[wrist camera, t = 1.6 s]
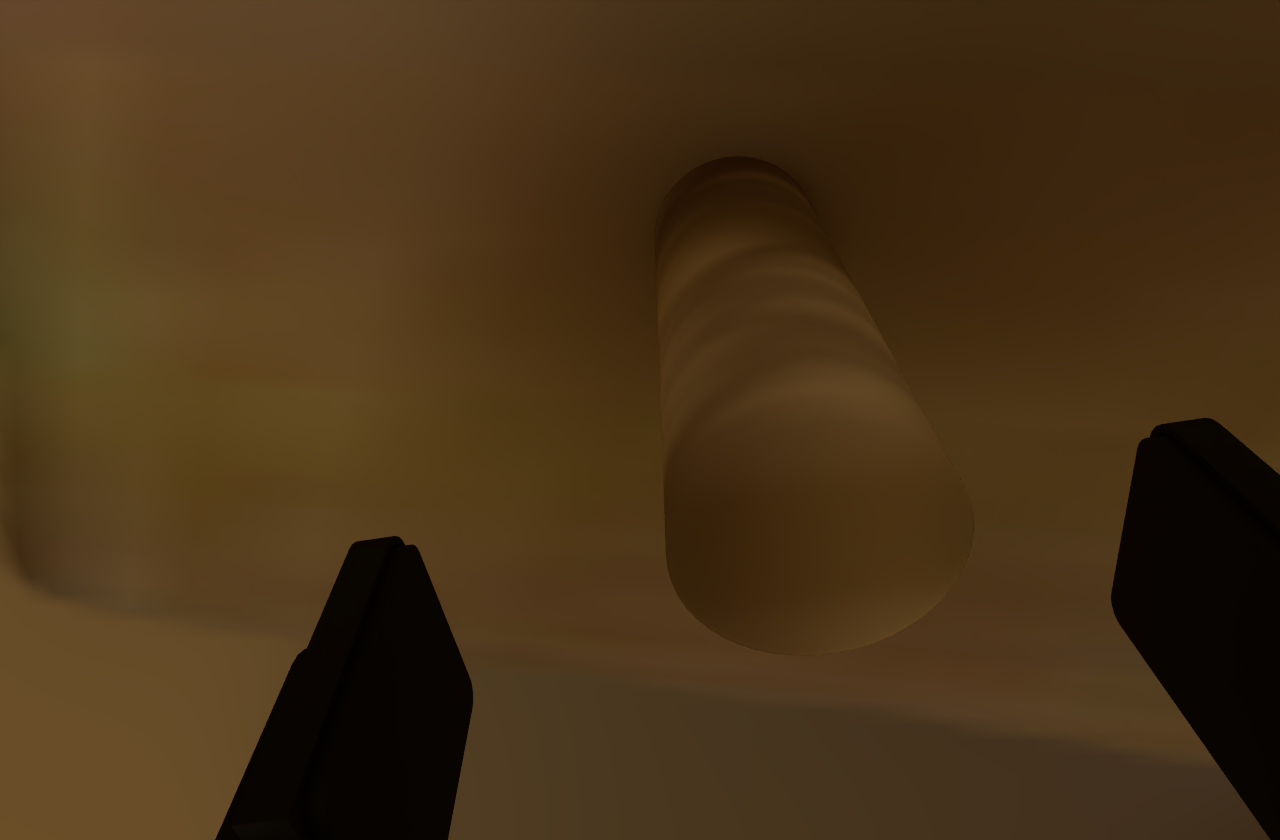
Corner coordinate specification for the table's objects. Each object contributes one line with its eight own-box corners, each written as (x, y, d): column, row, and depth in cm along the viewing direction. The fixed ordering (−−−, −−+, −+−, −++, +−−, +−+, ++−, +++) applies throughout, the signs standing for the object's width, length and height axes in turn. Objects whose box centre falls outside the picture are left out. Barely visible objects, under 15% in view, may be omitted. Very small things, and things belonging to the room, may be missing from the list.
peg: (807, 143, 20) (981, 399, 10) (816, 296, 22) (967, 638, 12) (643, 171, 20) (643, 446, 10) (667, 318, 22) (687, 670, 12)
